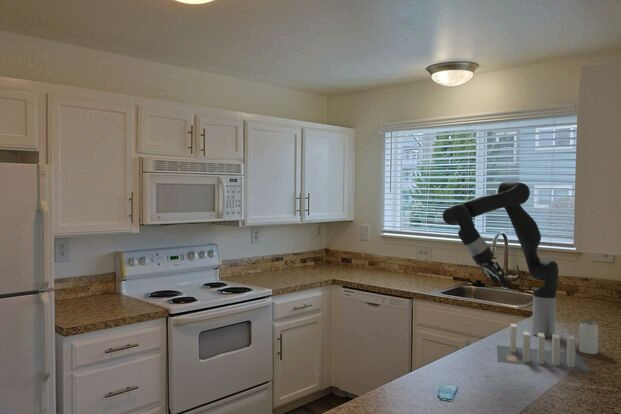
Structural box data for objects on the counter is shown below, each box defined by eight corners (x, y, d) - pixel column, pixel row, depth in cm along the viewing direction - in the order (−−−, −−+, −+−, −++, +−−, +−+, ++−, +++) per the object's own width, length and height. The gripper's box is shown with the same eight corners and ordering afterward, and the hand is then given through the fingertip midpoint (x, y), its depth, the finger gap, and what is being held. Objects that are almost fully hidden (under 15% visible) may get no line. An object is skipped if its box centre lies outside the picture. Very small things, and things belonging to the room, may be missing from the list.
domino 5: (566, 362, 191) (567, 335, 190) (572, 362, 190) (573, 335, 190) (568, 366, 186) (569, 338, 186) (574, 367, 185) (575, 339, 185)
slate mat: (496, 346, 211) (496, 345, 211) (578, 354, 201) (578, 353, 201) (497, 363, 190) (497, 361, 190) (589, 373, 181) (589, 371, 181)
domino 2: (522, 357, 195) (523, 331, 195) (528, 358, 195) (529, 331, 194) (523, 361, 191) (524, 334, 190) (529, 362, 190) (530, 335, 190)
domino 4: (551, 360, 192) (552, 334, 192) (557, 361, 192) (558, 334, 191) (553, 364, 187) (554, 337, 187) (559, 365, 187) (560, 338, 187)
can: (580, 349, 209) (581, 319, 208) (598, 352, 204) (599, 322, 204) (577, 352, 204) (577, 322, 203) (595, 356, 199) (596, 325, 199)
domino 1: (510, 348, 207) (510, 323, 207) (515, 348, 206) (516, 324, 206) (510, 351, 202) (511, 326, 202) (516, 352, 202) (516, 327, 201)
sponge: (432, 397, 157) (452, 398, 155) (439, 383, 168) (458, 384, 166) (433, 402, 157) (452, 403, 155) (440, 388, 168) (458, 389, 166)
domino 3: (537, 359, 194) (537, 332, 194) (542, 359, 193) (543, 333, 193) (538, 363, 189) (538, 336, 189) (544, 363, 188) (544, 336, 188)
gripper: (494, 245, 194) (518, 281, 194) (479, 244, 208) (501, 278, 208) (478, 256, 193) (501, 292, 193) (464, 254, 207) (486, 288, 207)
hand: (501, 285), depth 200 cm, fingers open, 8 cm apart
